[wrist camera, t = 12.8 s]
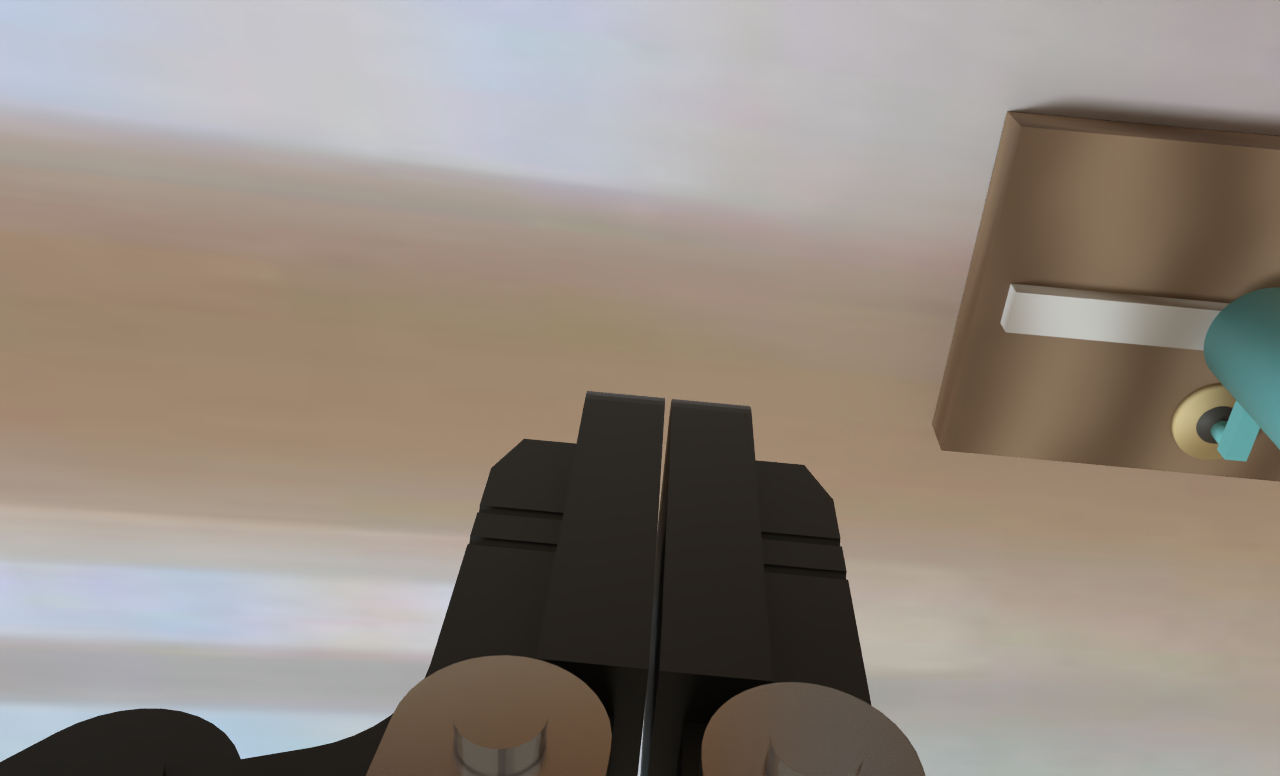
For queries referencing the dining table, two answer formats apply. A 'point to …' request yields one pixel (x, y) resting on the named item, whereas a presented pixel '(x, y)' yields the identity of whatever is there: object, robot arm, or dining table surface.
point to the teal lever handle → (1247, 370)
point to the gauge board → (1110, 294)
